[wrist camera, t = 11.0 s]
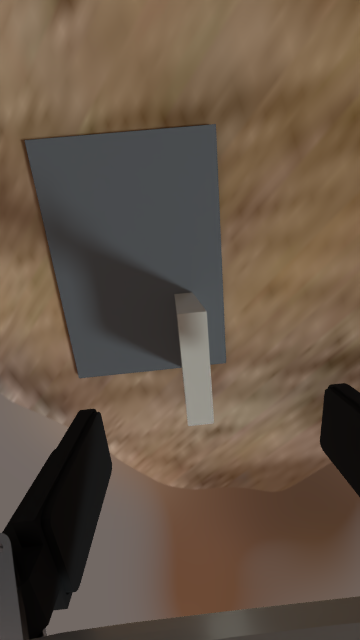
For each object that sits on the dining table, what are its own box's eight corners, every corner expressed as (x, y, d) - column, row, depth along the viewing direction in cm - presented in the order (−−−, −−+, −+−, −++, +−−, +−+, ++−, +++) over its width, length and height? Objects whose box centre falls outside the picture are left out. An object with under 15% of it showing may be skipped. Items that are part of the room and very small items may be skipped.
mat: (28, 144, 19) (24, 140, 18) (214, 128, 19) (215, 124, 19) (81, 375, 24) (79, 378, 24) (224, 360, 25) (226, 362, 24)
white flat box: (174, 294, 22) (177, 314, 13) (192, 292, 22) (206, 311, 13) (181, 367, 24) (188, 425, 15) (198, 365, 24) (214, 423, 15)
